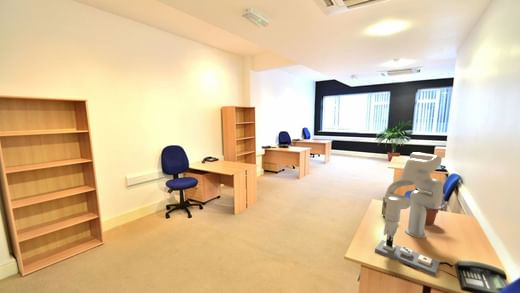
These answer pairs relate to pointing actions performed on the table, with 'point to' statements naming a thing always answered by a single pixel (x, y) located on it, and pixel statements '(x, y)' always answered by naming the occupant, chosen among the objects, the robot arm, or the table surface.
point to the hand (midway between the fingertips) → (389, 245)
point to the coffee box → (384, 207)
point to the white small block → (406, 251)
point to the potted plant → (430, 214)
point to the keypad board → (408, 259)
